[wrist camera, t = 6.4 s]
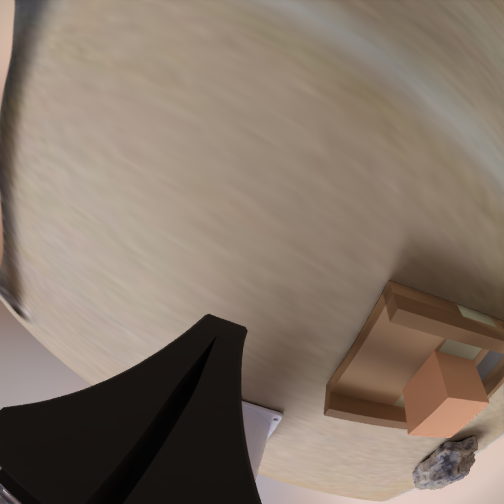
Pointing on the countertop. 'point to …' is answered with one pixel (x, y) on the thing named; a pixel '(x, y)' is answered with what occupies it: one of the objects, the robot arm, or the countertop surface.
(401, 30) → the countertop surface
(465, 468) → the mineral specimen
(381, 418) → the channel
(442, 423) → the block
